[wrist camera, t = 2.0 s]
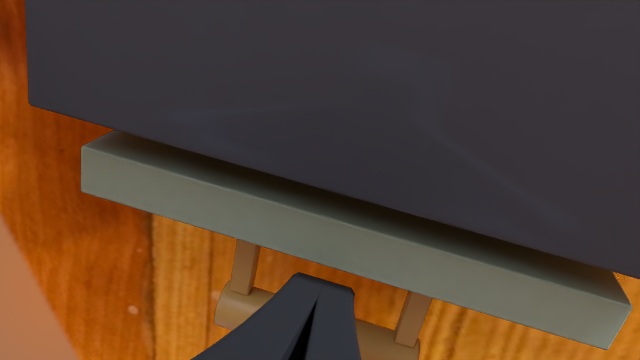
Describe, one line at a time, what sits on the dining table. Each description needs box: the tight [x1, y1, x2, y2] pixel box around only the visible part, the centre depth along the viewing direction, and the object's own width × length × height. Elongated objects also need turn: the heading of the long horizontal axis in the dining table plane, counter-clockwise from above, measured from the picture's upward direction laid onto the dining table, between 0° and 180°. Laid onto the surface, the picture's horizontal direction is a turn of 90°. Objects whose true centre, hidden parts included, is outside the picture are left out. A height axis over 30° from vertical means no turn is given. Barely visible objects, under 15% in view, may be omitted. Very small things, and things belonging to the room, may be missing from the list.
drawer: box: [81, 130, 632, 360], centre depth 13 cm, size 17×12×7 cm
